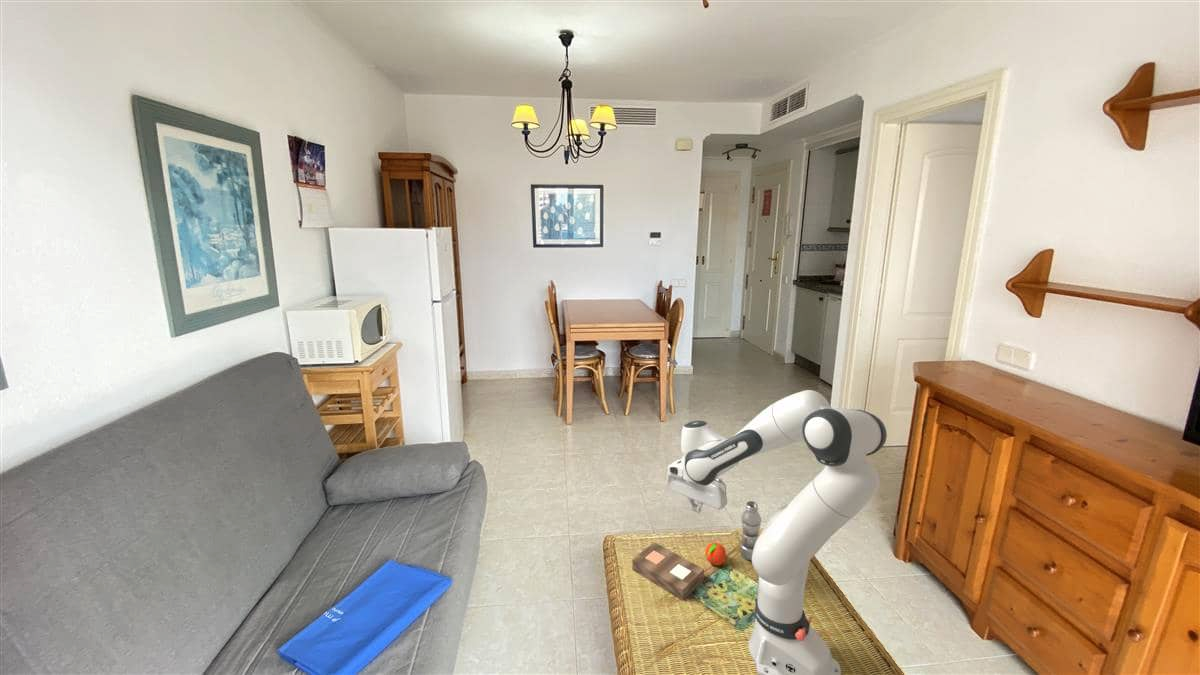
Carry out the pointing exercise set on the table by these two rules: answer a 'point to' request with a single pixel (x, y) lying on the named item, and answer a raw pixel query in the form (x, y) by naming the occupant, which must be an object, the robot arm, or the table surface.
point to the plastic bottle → (750, 529)
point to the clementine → (715, 553)
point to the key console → (661, 571)
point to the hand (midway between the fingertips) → (695, 510)
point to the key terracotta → (655, 557)
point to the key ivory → (680, 572)
